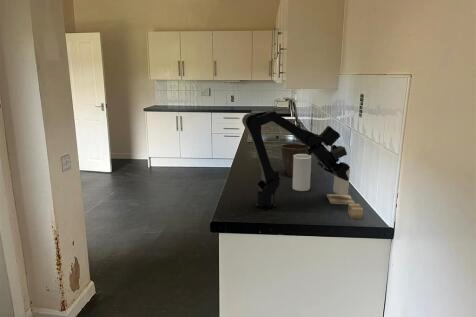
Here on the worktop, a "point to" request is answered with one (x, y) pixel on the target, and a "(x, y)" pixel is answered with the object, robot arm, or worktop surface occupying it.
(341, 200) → the trivet
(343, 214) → the worktop surface
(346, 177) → the robot arm
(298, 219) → the worktop surface
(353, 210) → the oak block
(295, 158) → the cup
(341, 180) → the tea caddy
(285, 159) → the plant pot
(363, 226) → the worktop surface
